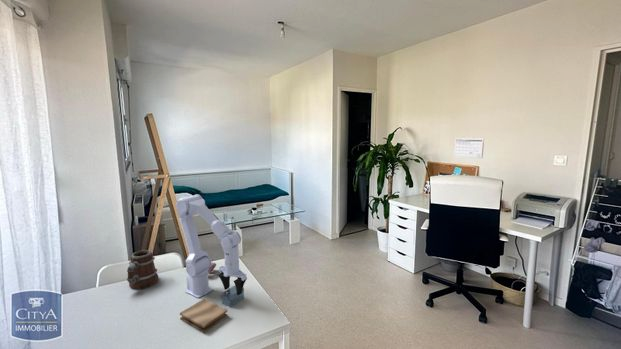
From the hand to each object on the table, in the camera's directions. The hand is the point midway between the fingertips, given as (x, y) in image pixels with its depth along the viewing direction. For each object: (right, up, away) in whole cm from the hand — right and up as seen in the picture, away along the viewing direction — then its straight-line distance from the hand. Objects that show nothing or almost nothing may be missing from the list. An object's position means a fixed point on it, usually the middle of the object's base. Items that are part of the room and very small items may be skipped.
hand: (233, 291), depth 119 cm
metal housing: (0, -5, +1) cm, 5 cm away
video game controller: (-19, -1, +23) cm, 30 cm away
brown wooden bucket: (-47, -3, +13) cm, 49 cm away
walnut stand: (-8, -6, -11) cm, 15 cm away
